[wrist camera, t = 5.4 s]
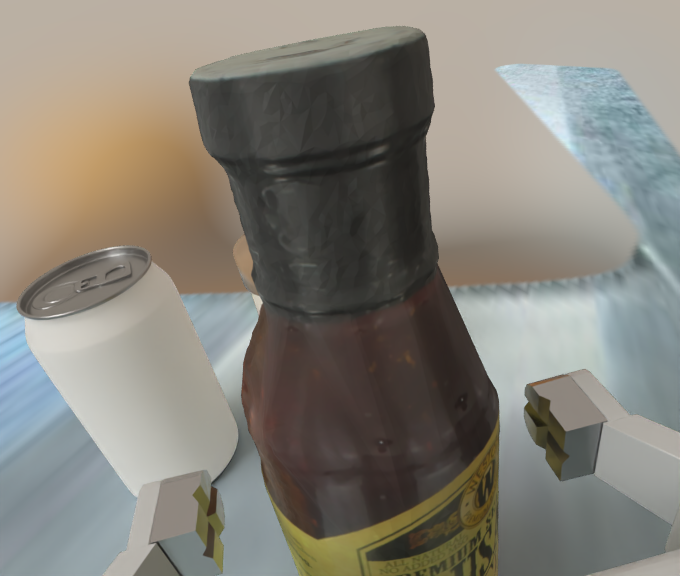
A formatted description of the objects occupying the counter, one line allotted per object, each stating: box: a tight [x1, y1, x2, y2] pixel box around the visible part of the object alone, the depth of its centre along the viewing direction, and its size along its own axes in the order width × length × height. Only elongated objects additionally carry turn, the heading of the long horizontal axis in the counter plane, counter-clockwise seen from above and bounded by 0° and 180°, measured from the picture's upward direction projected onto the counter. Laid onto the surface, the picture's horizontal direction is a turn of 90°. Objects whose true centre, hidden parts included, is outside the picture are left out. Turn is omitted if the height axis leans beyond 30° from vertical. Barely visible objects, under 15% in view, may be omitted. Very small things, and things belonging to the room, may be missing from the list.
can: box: [17, 246, 238, 498], centre depth 24 cm, size 6×6×12 cm
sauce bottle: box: [189, 26, 500, 576], centre depth 13 cm, size 6×6×20 cm
